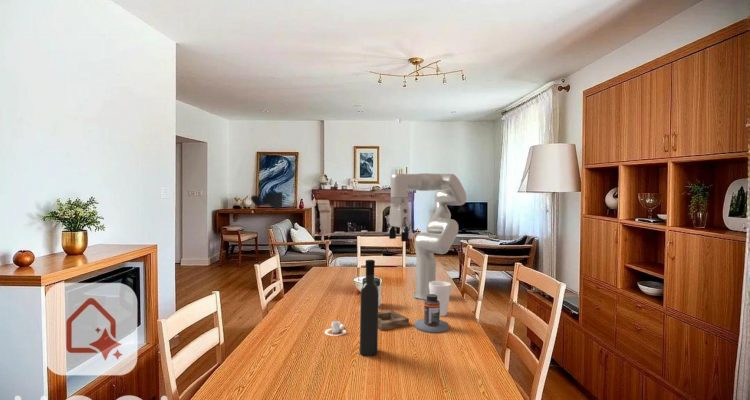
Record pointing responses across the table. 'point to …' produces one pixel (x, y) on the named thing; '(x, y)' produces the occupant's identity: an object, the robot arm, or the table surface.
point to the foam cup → (441, 294)
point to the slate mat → (431, 327)
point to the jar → (377, 282)
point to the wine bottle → (369, 313)
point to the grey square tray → (395, 321)
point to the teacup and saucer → (336, 328)
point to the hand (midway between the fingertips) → (398, 239)
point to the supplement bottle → (431, 310)
